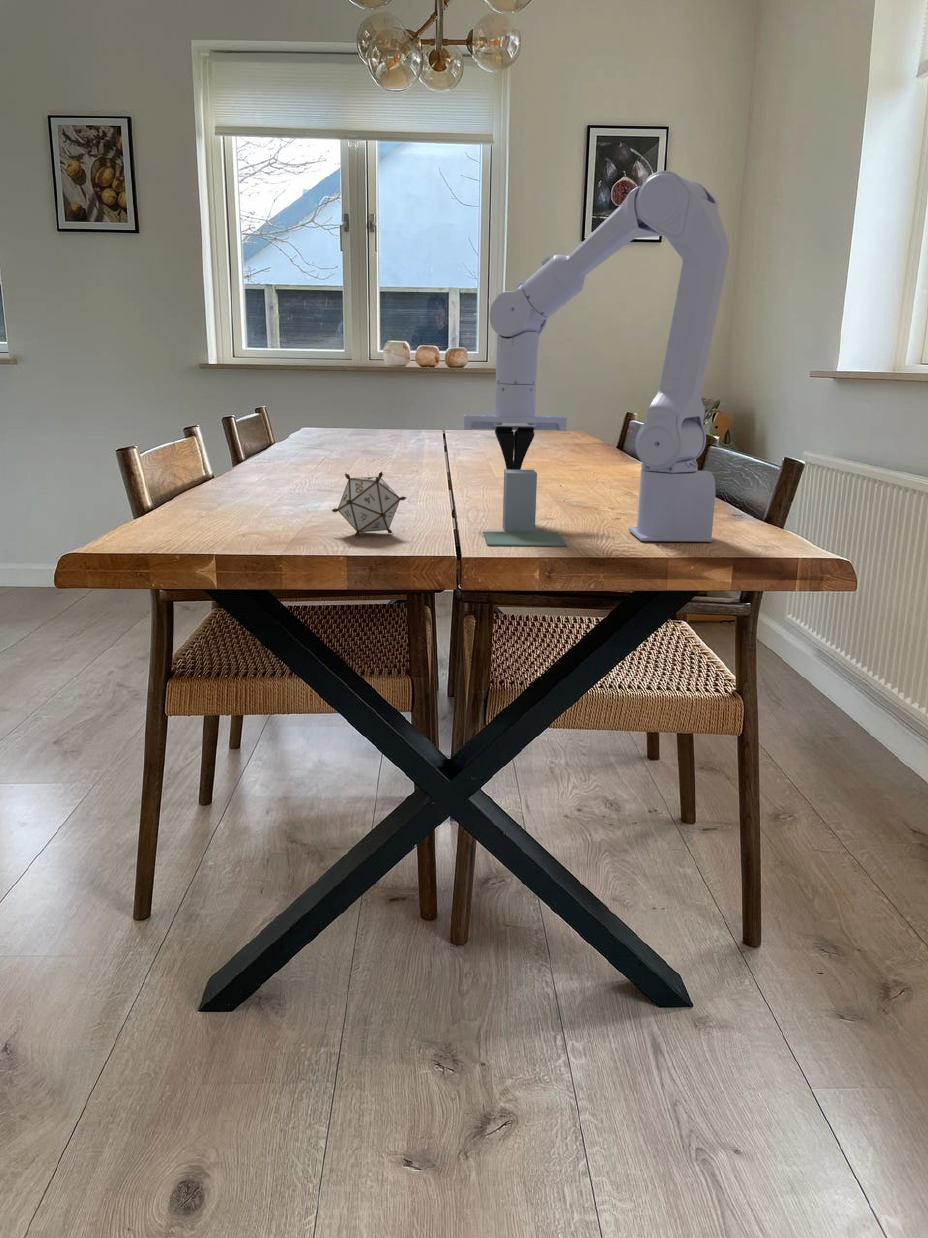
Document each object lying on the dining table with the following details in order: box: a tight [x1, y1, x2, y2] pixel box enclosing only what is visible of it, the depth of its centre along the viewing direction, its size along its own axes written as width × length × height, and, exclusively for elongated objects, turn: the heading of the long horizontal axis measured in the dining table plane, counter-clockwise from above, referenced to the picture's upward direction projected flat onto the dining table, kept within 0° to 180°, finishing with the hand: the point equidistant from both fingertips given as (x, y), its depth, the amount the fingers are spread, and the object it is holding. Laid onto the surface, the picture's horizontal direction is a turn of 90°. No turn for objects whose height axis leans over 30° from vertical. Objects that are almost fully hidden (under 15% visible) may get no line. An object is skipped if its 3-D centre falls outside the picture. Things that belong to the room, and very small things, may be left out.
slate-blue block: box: [502, 469, 538, 532], centre depth 127 cm, size 4×4×8 cm
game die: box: [331, 471, 407, 538], centre depth 122 cm, size 9×8×10 cm
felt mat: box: [482, 531, 568, 548], centre depth 122 cm, size 10×9×1 cm
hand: (512, 480), depth 136 cm, fingers closed
